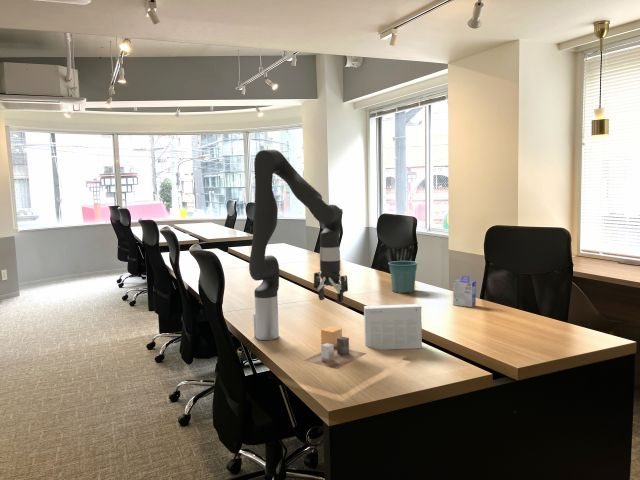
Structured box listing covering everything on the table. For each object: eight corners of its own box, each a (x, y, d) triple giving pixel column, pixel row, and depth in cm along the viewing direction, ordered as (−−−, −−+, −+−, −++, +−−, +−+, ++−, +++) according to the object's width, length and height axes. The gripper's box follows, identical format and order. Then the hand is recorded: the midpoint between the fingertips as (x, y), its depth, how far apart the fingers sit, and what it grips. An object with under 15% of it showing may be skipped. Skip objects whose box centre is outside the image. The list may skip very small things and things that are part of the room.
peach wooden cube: (321, 347, 192) (321, 329, 191) (330, 343, 196) (330, 326, 195) (333, 350, 188) (332, 332, 187) (342, 346, 193) (341, 328, 192)
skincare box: (419, 344, 194) (419, 303, 192) (422, 348, 188) (422, 307, 186) (364, 345, 193) (363, 305, 191) (365, 350, 188) (365, 308, 186)
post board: (303, 364, 175) (303, 344, 174) (335, 350, 189) (334, 331, 188) (336, 373, 166) (336, 352, 165) (366, 357, 180) (366, 338, 179)
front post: (321, 360, 174) (321, 345, 173) (327, 358, 176) (326, 343, 175) (328, 362, 172) (328, 346, 171) (333, 360, 174) (333, 344, 173)
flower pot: (382, 289, 289) (382, 262, 288) (406, 286, 296) (406, 259, 294) (399, 295, 275) (398, 266, 273) (423, 292, 281) (423, 263, 280)
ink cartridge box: (476, 305, 250) (476, 276, 248) (472, 307, 246) (472, 278, 244) (457, 302, 256) (457, 274, 254) (452, 305, 252) (453, 276, 250)
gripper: (308, 258, 190) (309, 301, 192) (339, 261, 181) (340, 306, 183) (321, 255, 196) (322, 297, 197) (351, 258, 187) (352, 301, 189)
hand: (330, 301), depth 190 cm, fingers open, 8 cm apart
